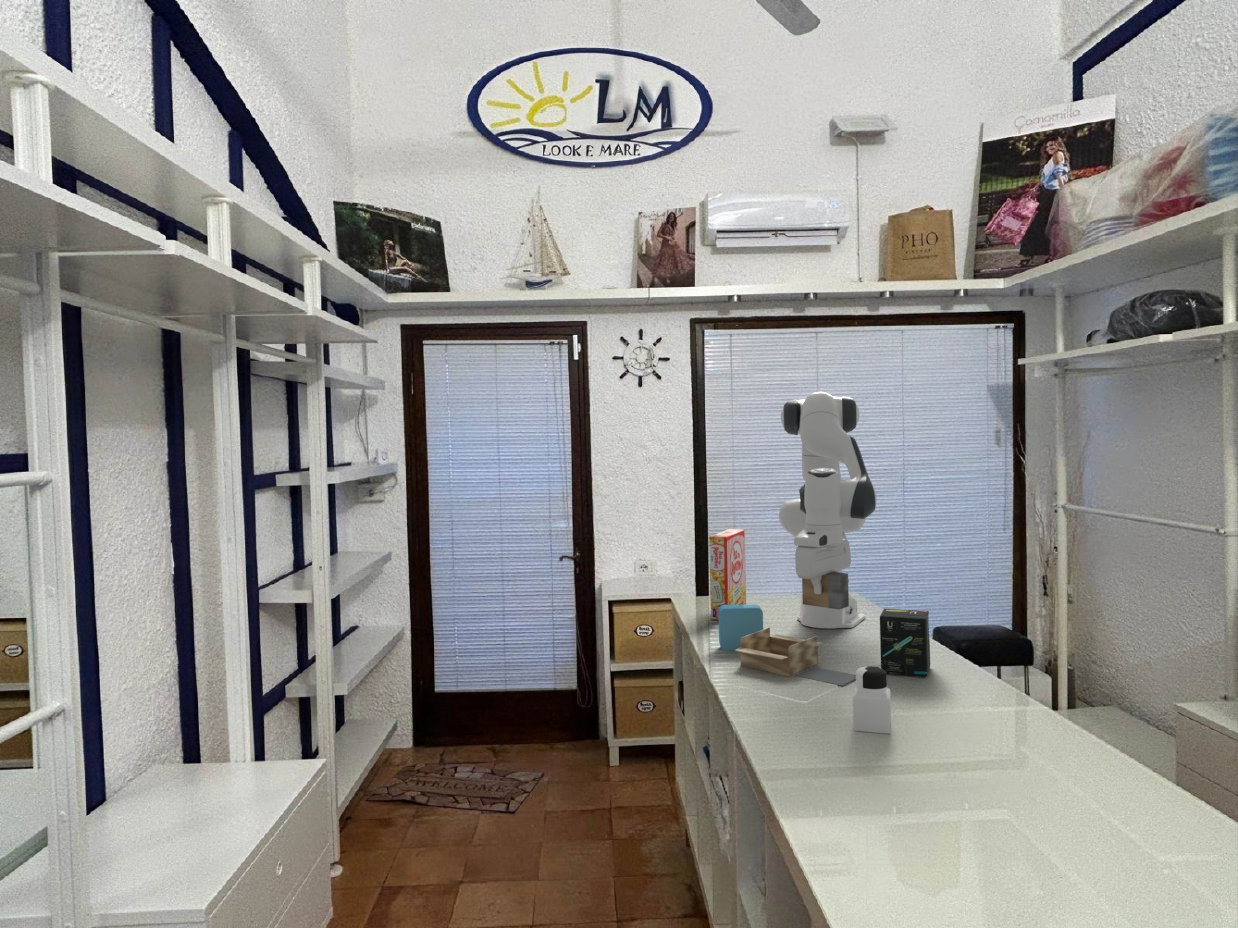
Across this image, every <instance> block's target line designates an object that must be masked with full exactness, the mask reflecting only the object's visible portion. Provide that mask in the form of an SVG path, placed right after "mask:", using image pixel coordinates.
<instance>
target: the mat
mask: <svg viewBox="0 0 1238 928" xmlns="http://www.w3.org/2000/svg"><path fill="white" fill-rule="evenodd" d="M794 676H796V677H800V678H805V679H808V680H814V681H817V682H818V681H819V682H823V683H827V684H832V685H837V687H841V688H844V687H845V686H847V685H849V684H851V683H853V682H856V674H853V673H848V672H843V671H838V670H834V669H829V668H825V667H820V666H815V665H813V666H811V667H809V668H807V669H804V670H802V671H800V672H798V673H795V674H794Z"/></svg>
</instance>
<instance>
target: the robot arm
mask: <svg viewBox="0 0 1238 928" xmlns="http://www.w3.org/2000/svg"><path fill="white" fill-rule="evenodd" d="M780 414H781V415H780V421H781V425H782V427H783V428H784V431H785V432H786V433H787V434H788V435H793V436H798V435H800V440H801V468H802V470H801V472H802V474H801V475H802V478H803V481H804V484H803V485H802V486H801V487H800V488H799V489H798V492H799V498H795V499H790V500H786V501H785V502H783V504H781V507H780V509H779V513H778V518H779V519H778V520H779V523H780V525H781V526H782V528H783V529H784V530H785V531H786V533H787V532H788V533H789V534H790V536H792V537H793V545H794V546H796V548H795V552H794V553H795V554H794V555H795V556H794V557H795V558H794V560H795V573H796V576H797V577H798V578H799V579H802V578H804V579H811V582H812V584H813V586H814V593H815V594H821V593H823V592H824V590H823V589H824V588H823V586H822V585H821V582H820V580H821V576H822V575H825V574H829V573H832V572H840V573H843V572H842V570H844V569H848V568H850V567H851V563H852V558H851V557H852V556H851V548H850V547H851V546H850V542H849V540H848V539H847V535H846V534H849V533H854V532H858V531H860V530H861V529H862V528H863V526H864V524H865V522H866V518H868V517H870V516H871V515H872V514H873V513H874V511H876V506H877V494H876V490H875V488H874V486H873V483H872V480H871V479H870V477H869V475H868V470H867V468H866V466H865V462H864V459H863V456H862V452H861V451H860V447H859V445H858V442H857V440H856V438H855V437H854V436H853V435H851V434H849V432H853V430H855V429H856V427H857V425H858V423H859V420H860V411H859V407H858V404H857V401H856V400H855V399H854V398H853V397H848V396H841V397H839V396H833V395H831V394H829V393H827V392H824V391H816V392H813V393H811V394H809V395H807V396H806V398H802V399H797V398H796V399H795V398H794V399H791V400H787V401H786V403H784V404H783V407H782V410H781V413H780ZM840 463H841V464H844V465H845V466H846V468H847V471H848V474H849V477H850V478H849V479H848V478H846V479H842V475H841V468H840V466H841V465H840ZM849 580H850V578H848V583H849V582H850V581H849ZM796 619H797V620H798V621H800V623H801V624H802V625H803V626H805V627H810V628H815V629H845V628H846V629H852V628H854V627H855V626H857V625H858V624H860V623H861V622H862V621H864V620H865V619H866V614H864V613H861V612H858V601H857V599H856V598H855V597H854V596H852V595H851V593H849V606H848V607H845V608H843V609H840V610H839V609H832V608H825V607H818V606H811V605H804V604H803V594H802V593H801V596H800V614H799V615H797V618H796Z"/></svg>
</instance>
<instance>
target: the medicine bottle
mask: <svg viewBox="0 0 1238 928" xmlns="http://www.w3.org/2000/svg"><path fill="white" fill-rule="evenodd" d="M855 675H856V680H855V685H854V689H853V695H852V714H853V715H852V716H853V717H852V720H853V721H852V722H853V723H852V725H853V726H852V727H853V728H852V729H853V731H854V732H860V733H861V732H863V733H871V734H872V733H873V734H875V733H876V734H882V735H884V734H886V735H887V734H888V735H890V734H891V729H892V728H891V727H892V711H891V709H892V708H891V707H892V705H891V689H890V688H888V675H887V672H886V671H885V670H883V669H881V667H878V666H872V665H871V666H870V665H869V666H866V665H865V666H861V667H859V668H857V669H856V671H855Z"/></svg>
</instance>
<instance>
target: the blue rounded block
mask: <svg viewBox="0 0 1238 928" xmlns="http://www.w3.org/2000/svg"><path fill="white" fill-rule="evenodd" d="M718 618H719V620H718V642H719V648H721V650H722V651H735V650H736V649H739V648H740V647H741V637H744V636H747V635H750V634H752V633H755V632H758V631H761V630H764V612H763V609H762V608H761V606H760V605H758V604H756V603H755V604H750V603H749V604H746V605H722V606H720V607H719V609H718Z"/></svg>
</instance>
